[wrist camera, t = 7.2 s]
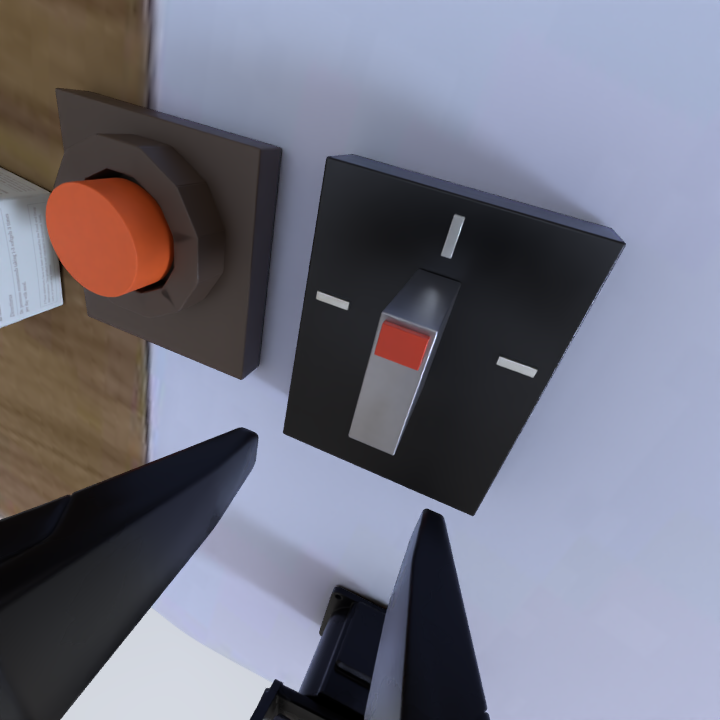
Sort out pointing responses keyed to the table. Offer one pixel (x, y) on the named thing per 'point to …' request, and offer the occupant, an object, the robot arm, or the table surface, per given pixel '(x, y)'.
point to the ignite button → (109, 235)
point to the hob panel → (464, 326)
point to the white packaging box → (25, 252)
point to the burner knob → (402, 359)
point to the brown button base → (184, 224)
